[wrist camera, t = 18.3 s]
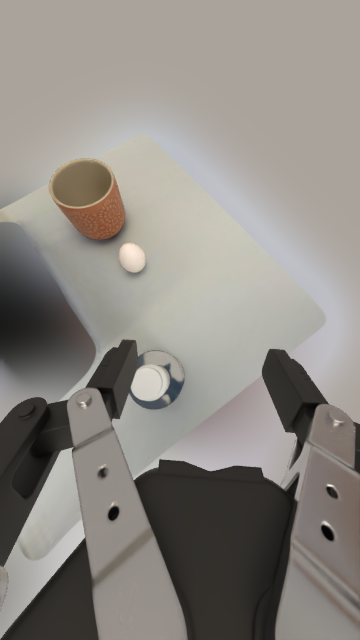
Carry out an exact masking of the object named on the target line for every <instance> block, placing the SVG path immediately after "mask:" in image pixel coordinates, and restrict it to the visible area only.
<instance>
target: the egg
mask: <svg viewBox="0 0 360 640" xmlns="http://www.w3.org/2000/svg"><path fill="white" fill-rule="evenodd" d="M119 259H120V262H121V264H122V266H123V267H124V268H125V269H126V270H127V271H129V272H139V271H141V270H142V269H143V268H144V266H145V261H146V259H145V255H144V252H143V251H142V249H141V248H140V247H139V246H137V245H136V244H134V243H125V244H124V245H123V246H122V247H121V249H120V251H119Z"/></svg>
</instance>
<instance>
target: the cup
mask: <svg viewBox="0 0 360 640" xmlns="http://www.w3.org/2000/svg"><path fill="white" fill-rule="evenodd" d="M146 364H156V365H160V366H162V367H164V368H165V369H166V370H167V371H168V373H169V376H170V384H169V387H168V389H167V390H166V391H165V393H164V394H163V395H162V396H161V397H160V398H159V399H157V400H154V401H144V400H140V399H138V398H137V397H135V395H134V394H133V393H132V390H131V388H130V391H129V393H130V395H131V397H132V399H133V400H134V401H135V402H136V403H137V404H139V405H140V406H142V407H144V408H147V409H161V408H164V407H166V406H168V405H170V404H171V403H172V402H173V401H174V400H175V399H176V398H177V397H178V395H179V394H180V391H181V389H182V386H183V383H184V371H183V368H182V366H181V364H180V362H179V361H178V360H177V359H176V358H175V357H173V356H171V355H170V354H168V353H166V352H163V351H156V350H155V351H149V352H146V353H143V354H142V355H140V356H139V357H138V367H137V370H138V369H139V368H140V367H141V366H143V365H146ZM137 370H136V371H137Z"/></svg>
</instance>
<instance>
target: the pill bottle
mask: <svg viewBox="0 0 360 640" xmlns="http://www.w3.org/2000/svg"><path fill="white" fill-rule="evenodd" d="M169 384H170V376H169V373H168V371H167V370H166V369H165V368H164V367H162V366H160V365H156V364H146V365H143V366H141V367H140V368H139V369H138V370H137V371H136V373H135V376H134V379H133V382H132V385H131V390H132V393H133V394H134V395H135V397H137V398H138V399H140V400H144V401H154V400H157V399H159V398H160V397H161V396H162V395H163V394H164V393H165V391H166V390H167V389H168V387H169Z"/></svg>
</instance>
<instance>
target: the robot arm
mask: <svg viewBox="0 0 360 640" xmlns="http://www.w3.org/2000/svg"><path fill="white" fill-rule="evenodd" d="M137 367H138V354H137V345H136V341H135V340H122V341H121V343H120V345H119V347H118V348H115V347H113V348H112V349H111V350H109V351H108V352H107V353H106V354H105V356H104V358H103V360H102V361H101V363H100V364H99V366H98V368H97V369H96V371H95V373H94V374H93V376H92V378H91V379H90V381H89V383H88V384H87V386H86V387H85V388H84V389H81V390H79V391H77V392H76V393H74V394H73V395H72V396H71V397H70V399H69V400H65V401H60V402H55V403H51V404H47V402H46V400H45V399H43V398H40V397H35V398H30V399H27V400H25V401H23V402H21V403H20V404H18V405H17V406H15V407H14V408H13V409H12V410H11V411H10V412H9V413H8V415H7V416H6V417H5V418H4V419H3V421H2V422H1V423H0V610H1V607H2V604H3V602H4V599H5V596H6V593H7V589H8V573H7V571H6V569H5V568H4V565H5V563H6V561H7V559H8V557H9V555H10V553H11V551H12V549H13V546H14V545H15V543H16V541H17V539H18V536H19V534H20V532H21V530H22V528H23V526H24V524H25V522H26V520H27V518H28V516H29V514H30V512H31V510H32V508H33V506H34V504H35V502H36V500H37V498H38V496H39V494H40V492H41V490H42V488H43V486H44V484H45V482H46V480H47V478H48V475H49V473H50V471H51V469H52V467H53V465H54V463H55V461H56V459H57V457H58V455H59V453H60V451H61V450H64V449H68V448H72V447H74V448H73V449H72V458H73V464H74V470H75V476H76V482H77V489H78V495H79V501H80V507H81V513H82V520H83V526H84V532H85V538H84V539H83V540H82V542H81V543H80V544H79V545H78V547H77V548H76V549H75V550H74V551H73V553H72V554H71V555H70V556H69V557H68V558H67V560H66V561H65V562H64V563H63V564H62V566H61V567H60V568H59V569H58V570H57V571H56V573H55V574H54V575H53V576H52V577H51V579H50V580H49V581H48V582H47V583H46V585H45V586H44V587H43V588H42V589H41V591H40V592H39V593H38V594H37V595H36V596H35V598H34V599H33V600H32V601H31V603H30V604H29V605H28V606H27V607H26V608H25V610H24V611H23V612H22V613H21V614H20V616H19V617H18V618H17V619H16V620H15V621H14V623H13V624H12V625H11V626H10V628H9V629H8V630H7V631H6V633H5V634H4V635H3V637H2V638H1V639H0V640H360V424H358V423H355V422H353V421H352V419H351V418H350V417H349V416H348V415H347V414H346V413H344V412H343V411H342V410H340V409H339V408H337V407H335V406H332V405H329V404H328V402H327V401H326V400H325V398H324V397H323V395H322V394H321V392H320V391H319V390H318V388H317V387H316V385H315V384H314V382H313V381H311V378H310V377H309V375H307V372H306V371H305V370H304V368H303V367H302V366H301V365H300V364H299V363H298V362H297V361H295V360H294V359H290V357H289V356H288V354H287V353H286V351H285V350H280V349H270V350H269V351H268V353H267V356H266V359H265V362H264V365H263V368H262V376H263V379H264V382H265V384H266V386H267V389H268V391H269V394H270V396H271V398H272V401H273V403H274V406H275V408H276V410H277V413H278V415H279V417H280V420H281V422H282V424H283V427H284V429H285V432H291V433H295V434H296V436H297V439H296V440H295V443H294V446H293V450H292V454H291V456H290V460H289V463H288V466H287V470H286V473H285V476H284V478H283V480H282V482H281V484H280V486H279V485H277V484H276V483H274V482H273V481H271V480H269V479H267V478H265V477H264V476H263V473H262V469H261V468H258V467H246V466H232V467H228V468H224V469H220V470H216V471H207V470H205V469H202V468H200V467H197V466H195V465H192V464H189V463H187V462H184V461H171V460H159V467H158V468H154V469H151V470H149V471H147V472H145V473H143V474H142V475H140V476H139V477H137V478H136V479H135V480H133V478H132V475H131V472H130V470H129V467H128V464H127V461H126V459H125V456H124V453H123V451H122V448H121V445H120V442H119V440H118V437H117V434H116V432H115V429H114V427H113V426H112V423H111V422H112V419H113V418H114V419H120V416H121V413H122V411H123V408H124V405H125V402H126V399H127V396H128V393H129V391H130V388H131V385H132V382H133V379H134V376H135V373H136V370H137Z"/></svg>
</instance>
